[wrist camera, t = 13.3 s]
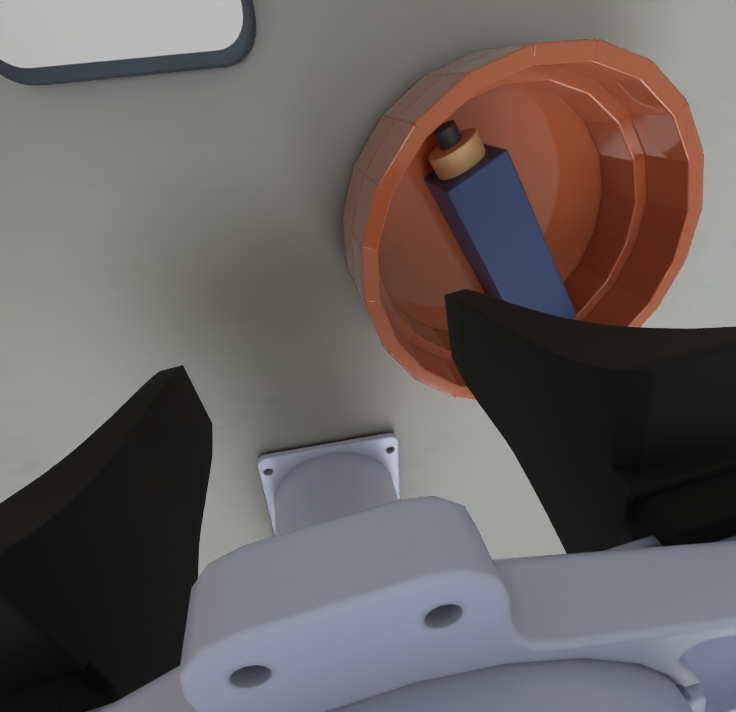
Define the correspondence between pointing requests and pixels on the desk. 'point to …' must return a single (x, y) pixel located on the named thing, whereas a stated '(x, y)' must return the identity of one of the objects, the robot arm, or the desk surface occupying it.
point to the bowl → (529, 189)
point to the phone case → (120, 38)
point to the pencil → (494, 221)
